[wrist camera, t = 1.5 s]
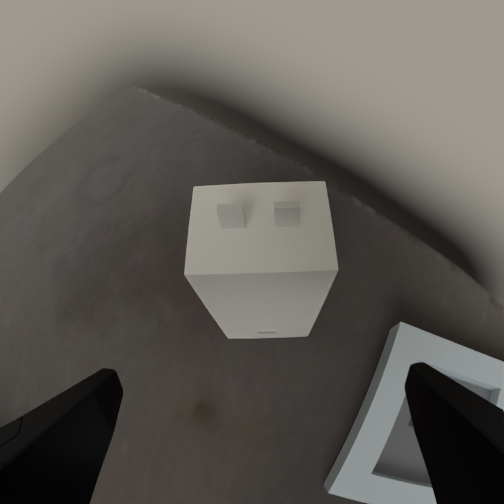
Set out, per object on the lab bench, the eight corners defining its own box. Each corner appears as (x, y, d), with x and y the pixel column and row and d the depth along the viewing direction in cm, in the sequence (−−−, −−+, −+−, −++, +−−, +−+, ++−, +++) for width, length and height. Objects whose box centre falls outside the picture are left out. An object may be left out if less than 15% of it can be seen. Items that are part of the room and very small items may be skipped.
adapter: (307, 337, 21) (345, 256, 10) (228, 339, 22) (174, 262, 10) (304, 282, 23) (328, 160, 12) (229, 284, 23) (187, 167, 12)
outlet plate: (456, 511, 13) (470, 518, 11) (323, 484, 16) (328, 492, 14) (506, 373, 18) (522, 368, 16) (389, 329, 21) (400, 321, 19)
